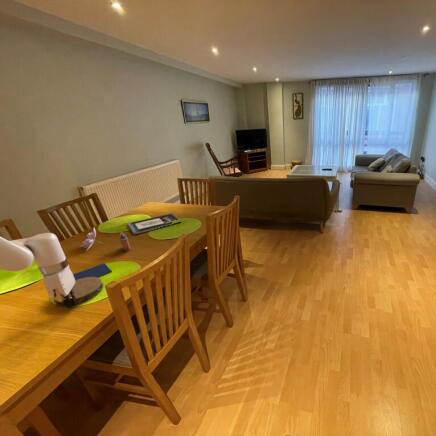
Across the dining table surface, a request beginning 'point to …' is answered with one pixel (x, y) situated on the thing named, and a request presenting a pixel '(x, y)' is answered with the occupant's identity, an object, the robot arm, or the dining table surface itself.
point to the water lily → (90, 239)
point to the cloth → (93, 272)
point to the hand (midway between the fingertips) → (72, 305)
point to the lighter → (125, 242)
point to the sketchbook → (151, 223)
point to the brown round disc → (84, 290)
